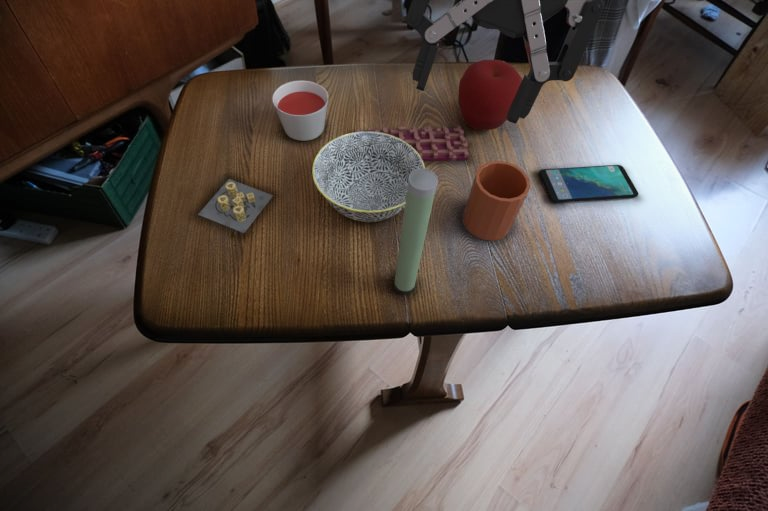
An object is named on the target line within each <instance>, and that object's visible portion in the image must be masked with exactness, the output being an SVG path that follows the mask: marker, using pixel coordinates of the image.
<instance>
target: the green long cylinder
mask: <svg viewBox="0 0 768 511" xmlns="http://www.w3.org/2000/svg"><path fill="white" fill-rule="evenodd" d="M438 183H439V178H438V176H437V174H436V173H435V172H434V171H433V170H431V169H428V168H425V169H423V168H421V169H416V170H414V171H412V172H411V173H410V175H409V178H408V185H407V187H408V189H407V196H406V203H405V207H404V209H403V211H404V212H403V218H402V224H401V225H402V226H401V231H400V238H399V247H398V255H397V260H396V268H395V275H394V280H393V288H394V291H396V293H397V294H399V295H402V296H406V295H407V296H408V295H411V294H412V293H413V292H414V290H415V289H416V288H415V287H416V282H417V277H418V272H419V269H420V264H421V259H422V253H423V249H424V246H425V240H426V235H427V232H428V226H429V222H430V219H431V218H430V217H431V214H432V210H433V204H434V200H435V196H436V191H437V188H438Z"/></svg>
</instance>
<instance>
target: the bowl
mask: <svg viewBox="0 0 768 511" xmlns="http://www.w3.org/2000/svg"><path fill="white" fill-rule="evenodd" d="M372 131H373V130H372ZM372 131H368V130H361V132H356V131H355V132H354V131H353V132H349V133H346V134H342V135H339V136H338V137H334V138H333V139H332V140H330V141H328V142H327V143H326V144H325V145H323V146H322V147H321V149H320V150H319V151H318V152H317V154H316V156H314V157H315V158H314V160H313V163H312V168H311V176H312V180H313V183H314V185H315V187H316V188H317V190H318V192H319V193H320V194H321V195H322V196H323V197H324V198H325V200H326V201H327V202H328V204H330V206H331V207H332V208H333V209H334V210H335V211H337V212H338V213H339V214H340V215H342V216H344V217H346V218H348V219H351V220H353V221H357V222H361V223H362V222H363V223H377V222H381V221H385V220H387V219H390V218H392V217H394V216H395V215H397V214H398V213H400V212H402V211H403V210H404V209H405V203H406V196H407V189H408V187H407V185H408V178H409V175H410V173H411V172H412V171H414V170H416V169H421V168H423V169H426V166H425V162H423V160H422V158H421V157H420V155H419V154H418V153H417V151H416V150H415V149H414V148H413V147H412V146H410V145H409V144H408V143H406V142H405V141H403V140H401V139H399V138H397V137H395V136H392V135H389V134H385V133H380V132H372Z"/></svg>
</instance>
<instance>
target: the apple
mask: <svg viewBox="0 0 768 511" xmlns="http://www.w3.org/2000/svg"><path fill="white" fill-rule="evenodd" d="M522 79H523V77H522V76H521V75H520V73H519V72H518V70H517V69H516V68H515V67H514V66H513V65H511V64H510V63H509V62H507V61H503V60H500V59H481V60H479V61H476V62H474V63H471V64H469V65H468V67H467V68H466V70H465V71H464V72H463V74H462V76H461V78H460V80H459V84H458V97H457V98H458V100H457V103H458V108H459V111H460V114H461V118H462V120H463V122H464V123H465V124H466V125H467V126H469V127H470V128H472V129H476V130H477V131H481V130H482V131H491V130H496V129H497V128H499V127H501V126H502V125H503V124H504V123H506V121H508V119H507V113H508V110H509V108H510V106H511V104H512V101H513V99H514V97H515V95H516V93H517V90H518V88H519V86H520V84H521V82H522Z"/></svg>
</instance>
